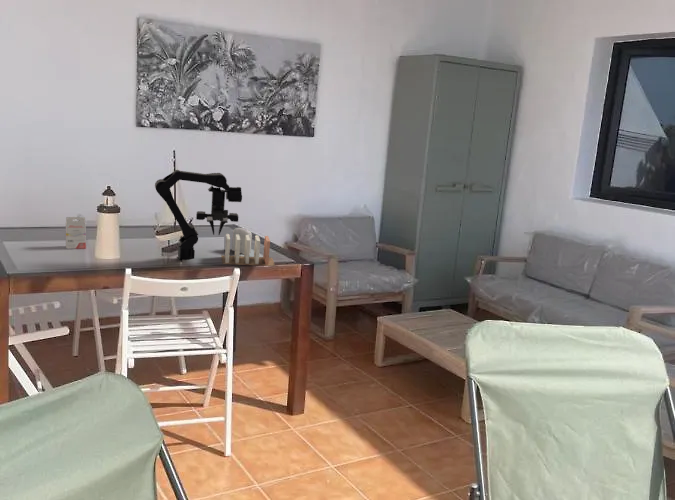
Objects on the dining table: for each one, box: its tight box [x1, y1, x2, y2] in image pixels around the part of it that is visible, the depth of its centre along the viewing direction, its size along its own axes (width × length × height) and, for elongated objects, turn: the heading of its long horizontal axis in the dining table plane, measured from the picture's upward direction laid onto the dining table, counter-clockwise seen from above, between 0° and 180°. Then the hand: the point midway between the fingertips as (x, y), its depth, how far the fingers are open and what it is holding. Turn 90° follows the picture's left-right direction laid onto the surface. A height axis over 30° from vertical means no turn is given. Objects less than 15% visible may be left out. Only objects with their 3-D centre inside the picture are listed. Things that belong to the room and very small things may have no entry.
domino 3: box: [243, 235, 251, 264], centre depth 318 cm, size 2×10×11 cm, turn 12°
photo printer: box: [231, 227, 253, 255], centre depth 332 cm, size 10×4×12 cm, turn 56°
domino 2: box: [233, 234, 241, 263], centre depth 317 cm, size 2×10×11 cm, turn 12°
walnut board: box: [221, 255, 276, 267], centre depth 319 cm, size 24×14×1 cm, turn 102°
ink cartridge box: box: [65, 216, 87, 250], centre depth 313 cm, size 9×5×15 cm, turn 112°
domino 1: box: [224, 233, 231, 263], centre depth 316 cm, size 2×10×11 cm, turn 12°
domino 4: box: [253, 235, 261, 264], centre depth 318 cm, size 2×10×11 cm, turn 11°
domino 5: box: [262, 235, 271, 264], centre depth 319 cm, size 2×10×11 cm, turn 12°
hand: (216, 234), depth 314 cm, fingers open, 2 cm apart
